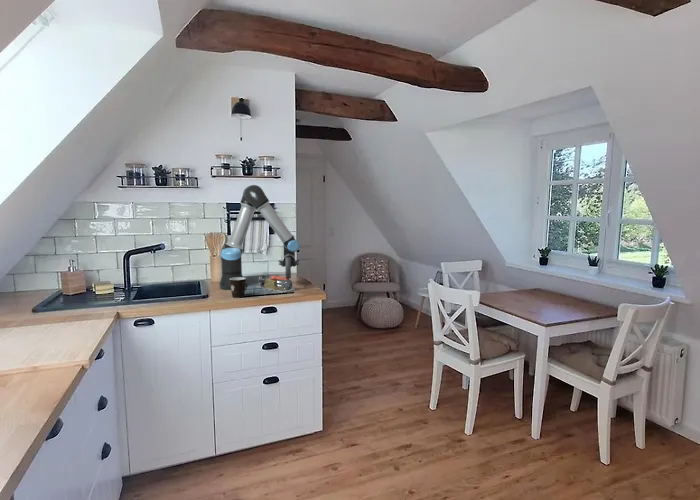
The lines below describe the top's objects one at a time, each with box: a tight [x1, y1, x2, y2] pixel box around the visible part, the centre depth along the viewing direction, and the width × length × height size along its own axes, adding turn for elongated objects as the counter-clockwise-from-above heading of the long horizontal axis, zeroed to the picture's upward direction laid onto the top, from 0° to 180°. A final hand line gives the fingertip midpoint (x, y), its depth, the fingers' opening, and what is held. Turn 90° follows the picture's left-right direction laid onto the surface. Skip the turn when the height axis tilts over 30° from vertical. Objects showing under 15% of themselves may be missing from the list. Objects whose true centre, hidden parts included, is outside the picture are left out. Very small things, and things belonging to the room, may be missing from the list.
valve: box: [254, 275, 296, 294], centre depth 244 cm, size 24×10×7 cm, turn 52°
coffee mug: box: [230, 276, 248, 299], centre depth 222 cm, size 12×9×10 cm
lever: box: [270, 257, 292, 281], centre depth 240 cm, size 14×4×13 cm, turn 59°
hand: (288, 266), depth 239 cm, fingers closed
